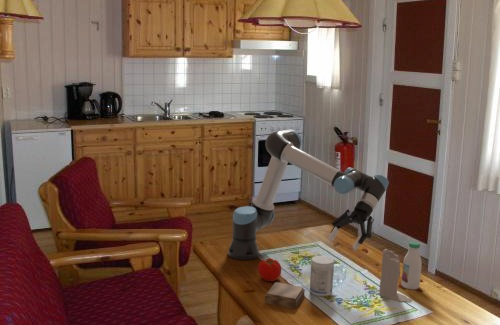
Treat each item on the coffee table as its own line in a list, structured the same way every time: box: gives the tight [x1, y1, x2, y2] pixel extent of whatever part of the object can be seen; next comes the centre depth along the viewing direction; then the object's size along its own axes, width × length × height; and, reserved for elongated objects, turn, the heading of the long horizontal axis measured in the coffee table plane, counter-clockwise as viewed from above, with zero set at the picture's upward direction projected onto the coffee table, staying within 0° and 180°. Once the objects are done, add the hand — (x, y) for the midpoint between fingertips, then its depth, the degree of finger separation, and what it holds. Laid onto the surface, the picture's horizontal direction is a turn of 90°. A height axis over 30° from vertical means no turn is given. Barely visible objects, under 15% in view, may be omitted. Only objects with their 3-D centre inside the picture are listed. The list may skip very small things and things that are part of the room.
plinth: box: [264, 281, 306, 310], centre depth 219 cm, size 13×13×4 cm
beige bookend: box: [378, 248, 413, 303], centre depth 224 cm, size 7×14×20 cm, turn 58°
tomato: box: [257, 258, 282, 282], centre depth 238 cm, size 11×11×9 cm
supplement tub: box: [309, 255, 335, 297], centre depth 226 cm, size 10×10×15 cm
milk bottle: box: [400, 241, 423, 290], centre depth 235 cm, size 8×8×20 cm
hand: (341, 244), depth 230 cm, fingers open, 13 cm apart
